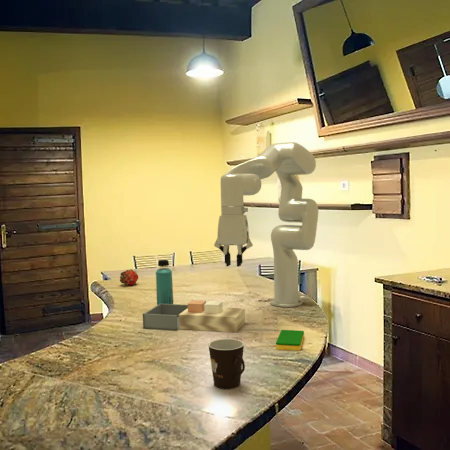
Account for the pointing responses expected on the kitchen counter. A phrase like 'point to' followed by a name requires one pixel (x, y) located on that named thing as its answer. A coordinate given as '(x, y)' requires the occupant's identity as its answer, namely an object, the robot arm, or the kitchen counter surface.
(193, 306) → the orange square block
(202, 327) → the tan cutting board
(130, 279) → the dragon fruit
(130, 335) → the kitchen counter surface
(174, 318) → the tray
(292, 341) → the dish sponge
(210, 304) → the cream square block
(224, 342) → the coffee mug
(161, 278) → the beverage bottle
